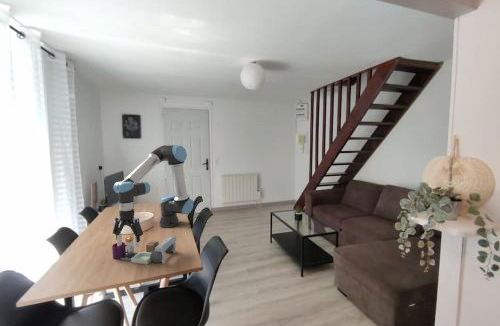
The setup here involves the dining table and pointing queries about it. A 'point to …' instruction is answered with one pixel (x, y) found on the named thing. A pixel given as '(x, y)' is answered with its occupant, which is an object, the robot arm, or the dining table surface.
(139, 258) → the tray
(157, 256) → the grey angle bracket
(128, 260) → the pin socket
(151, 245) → the chock
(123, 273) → the dining table surface
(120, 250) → the mug
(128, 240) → the stop pin
